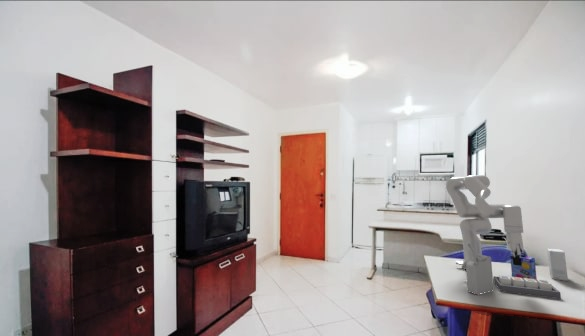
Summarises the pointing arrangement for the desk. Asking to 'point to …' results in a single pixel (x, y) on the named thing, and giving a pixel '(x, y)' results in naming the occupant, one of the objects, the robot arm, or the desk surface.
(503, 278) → the key slate
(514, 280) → the key terracotta
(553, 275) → the skincare box
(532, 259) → the ink cartridge box
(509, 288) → the grey compartment tray
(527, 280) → the key olive
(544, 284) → the key charcoal
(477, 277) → the fuel canister
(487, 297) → the desk surface
